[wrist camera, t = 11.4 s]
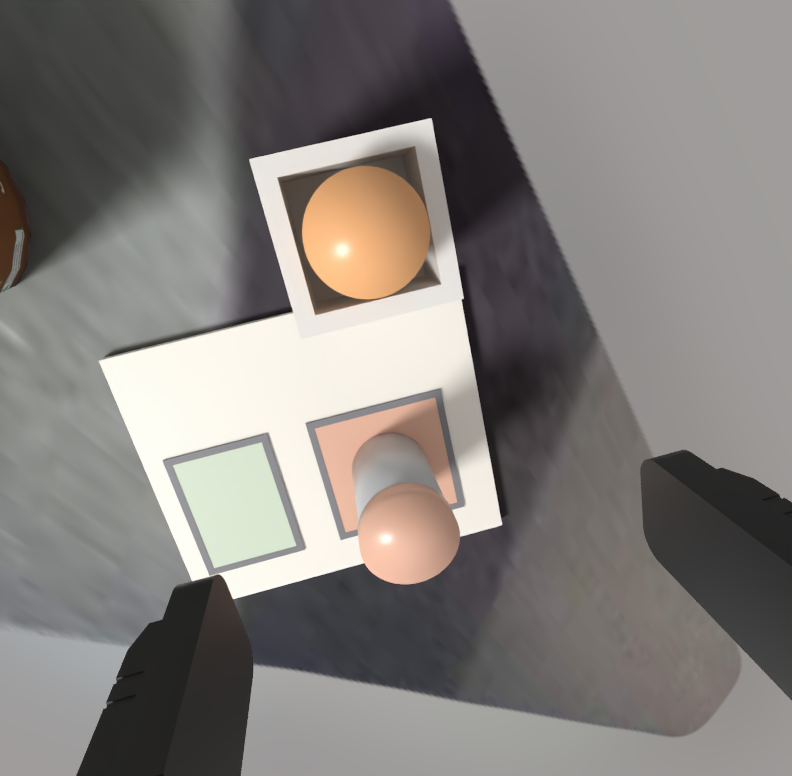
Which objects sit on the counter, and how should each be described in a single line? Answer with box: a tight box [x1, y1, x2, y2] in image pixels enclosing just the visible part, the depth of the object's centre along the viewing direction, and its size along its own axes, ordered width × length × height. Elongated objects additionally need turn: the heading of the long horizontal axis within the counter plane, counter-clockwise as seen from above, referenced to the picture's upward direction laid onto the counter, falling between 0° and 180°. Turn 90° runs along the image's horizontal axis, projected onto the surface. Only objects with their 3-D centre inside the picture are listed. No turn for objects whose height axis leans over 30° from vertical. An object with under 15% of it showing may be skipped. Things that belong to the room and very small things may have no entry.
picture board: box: [99, 300, 502, 599], centre depth 31 cm, size 16×19×1 cm
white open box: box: [249, 118, 464, 339], centre depth 23 cm, size 6×6×10 cm
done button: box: [302, 166, 430, 299], centre depth 18 cm, size 4×4×2 cm
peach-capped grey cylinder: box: [352, 433, 460, 584], centre depth 28 cm, size 5×5×8 cm
